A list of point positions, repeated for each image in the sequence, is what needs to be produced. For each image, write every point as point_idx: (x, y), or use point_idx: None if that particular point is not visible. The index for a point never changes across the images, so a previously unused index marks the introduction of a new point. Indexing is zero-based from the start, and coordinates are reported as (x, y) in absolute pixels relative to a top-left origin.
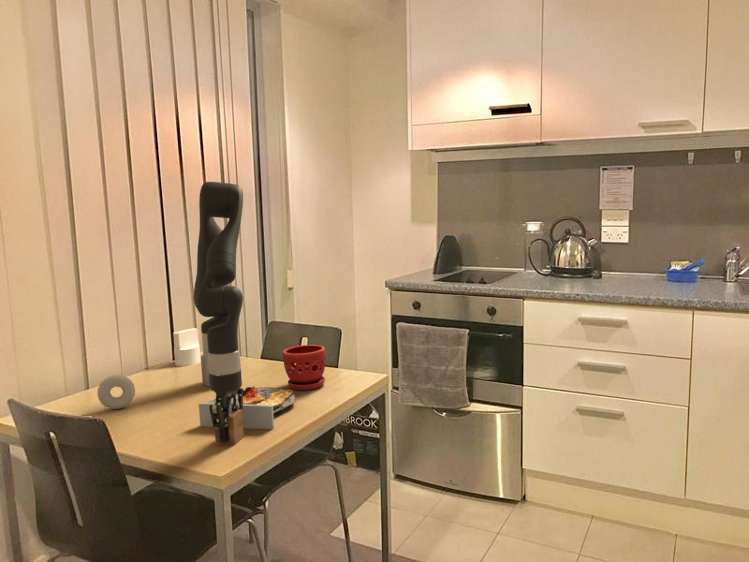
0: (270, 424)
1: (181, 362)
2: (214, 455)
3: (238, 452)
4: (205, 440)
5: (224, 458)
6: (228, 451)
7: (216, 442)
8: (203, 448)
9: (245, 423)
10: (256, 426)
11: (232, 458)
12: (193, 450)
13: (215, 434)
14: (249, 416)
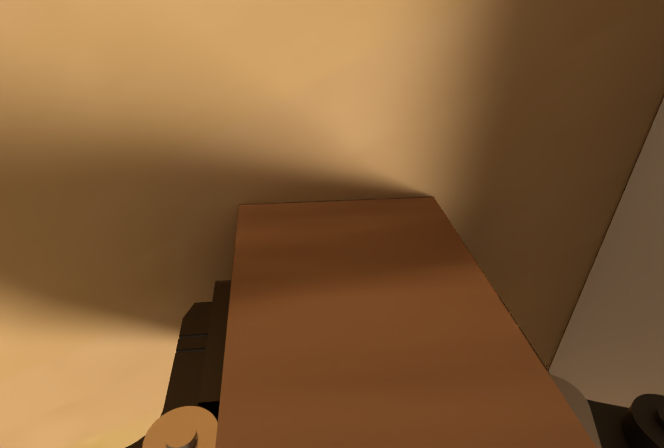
0: None
1: None
2: (10, 303)
3: (138, 409)
4: (309, 50)
5: (3, 383)
6: (128, 355)
7: (238, 220)
8: (102, 139)
9: (613, 305)
10: (568, 356)
11: (32, 420)
12: (4, 52)
13: (235, 266)
14: (643, 388)
